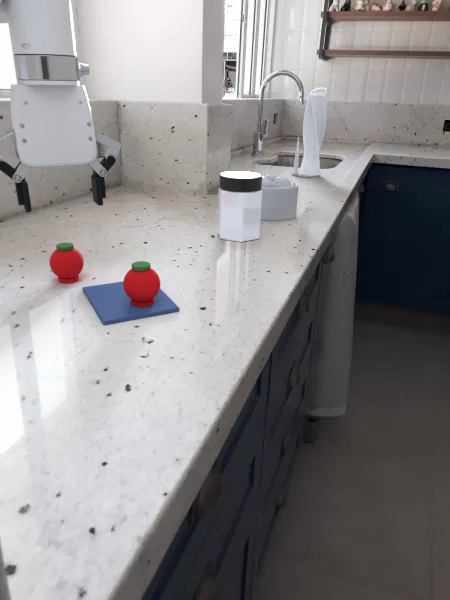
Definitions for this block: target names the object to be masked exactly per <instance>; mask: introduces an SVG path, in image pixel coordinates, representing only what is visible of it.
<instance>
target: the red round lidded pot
mask: <svg viewBox="0 0 450 600" xmlns="http://www.w3.org/2000/svg"><path fill="white" fill-rule="evenodd" d="M160 278H161V277H160V276H159V274H158V273H157V272H156V271H155V270H154V268H151V262H150V261H144V260H139V261H135V262H132V263H131V268H130V269H129V270H127V272H126V274H125V275H124V278H123V287H124V291H125V293H126V294H127V296H128V297H129V298H131V304H132V305H133V306H135V307H148V306H151V305H153V304H154V297H155V296H156V295H157V294H158V292H159V290H160V289H161V279H160Z"/></svg>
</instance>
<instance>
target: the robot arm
mask: <svg viewBox="0 0 450 600" xmlns="http://www.w3.org/2000/svg"><path fill="white" fill-rule="evenodd" d="M0 24H8V30H9V37H10V43H11V44H10V45H11V50H12V51H11V52H12V58H13V66H14V70H15V78H16V84H10V89H9V90H10V91H9V96H10V97H9V99H10V100H9V101H10V102H9V103H10V119H11V127H12V132H10V133H8V134H6V135H4V136H2V137H1V138H0V172H2V173H3V174H4V175H6V176H7V177H9V178H10V179H11V180H13V182H14V187H15V193H16V199H17V203H18V206H23V209H24V210H25V213H31V212H32V211H33V209H32V203H31V196H30V190H29V183H28V181H27V180H26V175H28V173H29V172H30V170H31V169H32V168H33V167H35V168H36V167H37V168H40V167H58V166H59V167H60V166H73V165H74V166H77V165H87V166H88V167H89V168H90V169H91V170H92V174H91V175H90V180H91V192H92V201H93V202H94V204H95V205H97V206H99V207H100V206H101V207H102V206H104V199H106V198H107V191H106V181H105V177H106V176H107V175H108V172H109V171H110V170H111V169H112V168H113V166H114V165H115V164H116V162H117V160H116V159H117V158H118V156H119V154H120V151H121V149H122V143H120V141H117V140H116V139H113V138H111V137H109V136H108V135H105V134H104V133H101V132H100V131H97V130H95V126H94V125H95V124H94V120H93V115H92V108H91V104H90V101H89V96H88V94H87V90H86V86H85V85H83V84H81V85H80V81H81V78H82V77H84V76H90V65H89V64H88V63H83V62H80V60H79V58H78V57H77V49H76V37H75V29H74V17H73V8H72V0H0ZM97 143H99V144H101V145H104V146H105V147H106V148H107V152H106V155H105V156H104V157H103V158H102V159H101V161H100V162H99V161H98V160H97V158H98V145H97ZM12 146H14V149H15V150H14V151H15V155H16V157H17V159H18V162H17V163H16V164H15V166H12V165H11V164H9V163H8V162H7V161H6V160H5V159H4V157H3V156H2V153H3V152H4V151H5V150H7V149H9V148H10V147H12Z"/></svg>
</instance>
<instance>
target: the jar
mask: <svg viewBox="0 0 450 600" xmlns="http://www.w3.org/2000/svg"><path fill="white" fill-rule="evenodd" d="M262 176H263V175H262V174H260V173H257V172H251V171H240V170H239V171H235V170H234V171H224V172H221V173H219V177H218V178H219V180H218V185H219V186H218V208H217V209H218V213H217V233H218V234H217V235H218V236H219V239H220V240H224V241H230V242H231V241H232V242H237V243H244V242H249V241H254V240H259V239H260V237H261V224H262V223H261V221H262V220H261V206H262V191H261V187H262Z"/></svg>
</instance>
